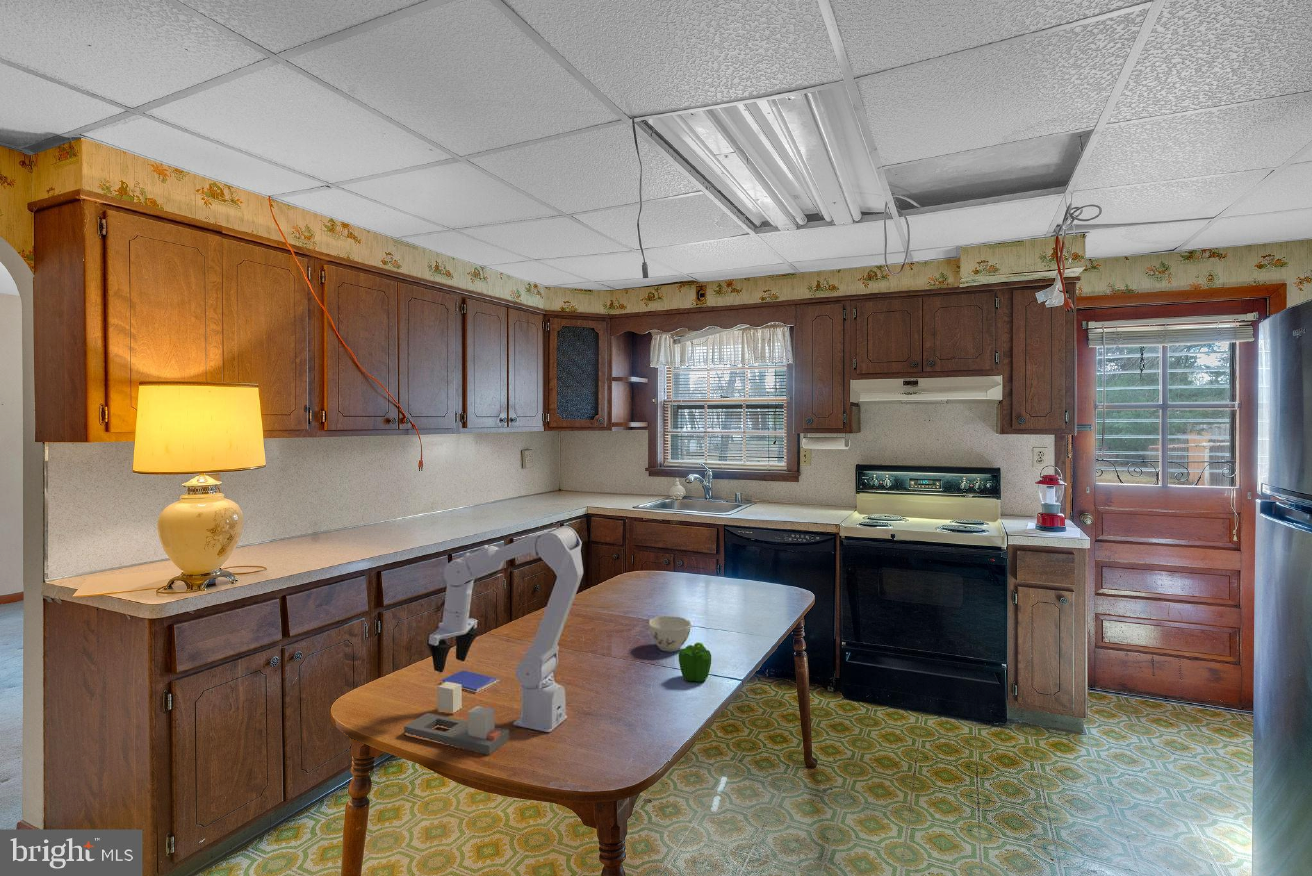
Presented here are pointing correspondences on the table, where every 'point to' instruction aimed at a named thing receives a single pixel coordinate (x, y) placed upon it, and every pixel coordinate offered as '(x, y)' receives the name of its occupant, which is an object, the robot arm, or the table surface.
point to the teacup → (669, 632)
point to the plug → (450, 697)
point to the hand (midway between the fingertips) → (449, 665)
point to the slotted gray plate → (462, 730)
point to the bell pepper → (695, 662)
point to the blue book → (471, 680)
